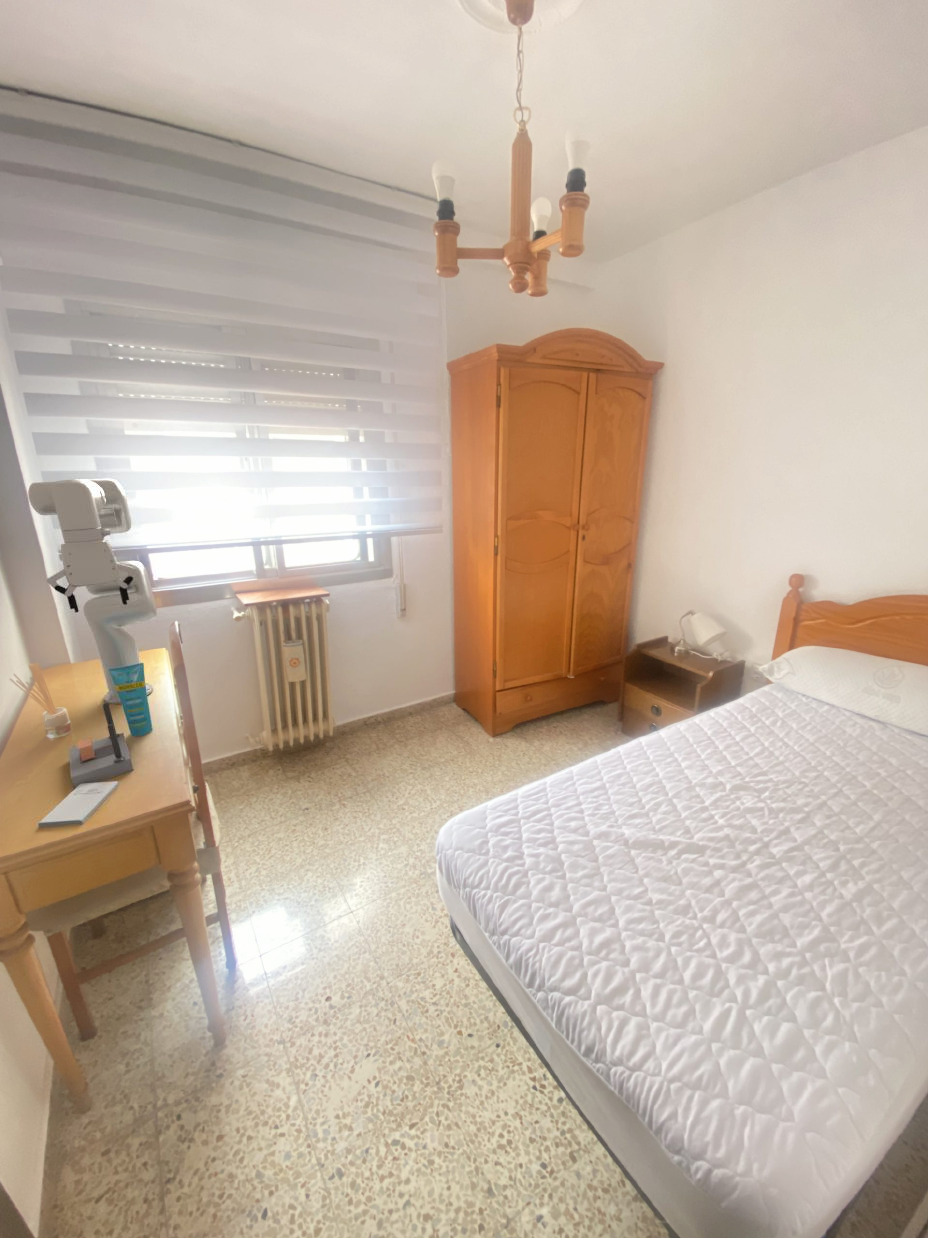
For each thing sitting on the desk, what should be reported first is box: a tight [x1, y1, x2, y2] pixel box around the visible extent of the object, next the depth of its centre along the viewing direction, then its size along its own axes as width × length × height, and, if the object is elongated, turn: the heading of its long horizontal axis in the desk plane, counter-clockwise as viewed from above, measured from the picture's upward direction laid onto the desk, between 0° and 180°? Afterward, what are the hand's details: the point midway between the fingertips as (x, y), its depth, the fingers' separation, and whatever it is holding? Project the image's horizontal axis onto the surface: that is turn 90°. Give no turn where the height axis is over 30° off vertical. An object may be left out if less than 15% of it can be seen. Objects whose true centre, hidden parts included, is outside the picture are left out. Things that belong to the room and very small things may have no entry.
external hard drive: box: [37, 780, 120, 828], centre depth 102 cm, size 2×8×12 cm
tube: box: [108, 662, 153, 737], centre depth 127 cm, size 7×5×19 cm, turn 123°
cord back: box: [102, 702, 117, 733], centre depth 121 cm, size 1×1×8 cm
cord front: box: [107, 724, 122, 758], centre depth 111 cm, size 1×1×8 cm
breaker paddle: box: [77, 737, 95, 761], centre depth 114 cm, size 4×2×3 cm, turn 39°
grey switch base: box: [68, 732, 134, 790], centre depth 116 cm, size 16×11×3 cm
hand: (101, 607), depth 119 cm, fingers open, 9 cm apart
